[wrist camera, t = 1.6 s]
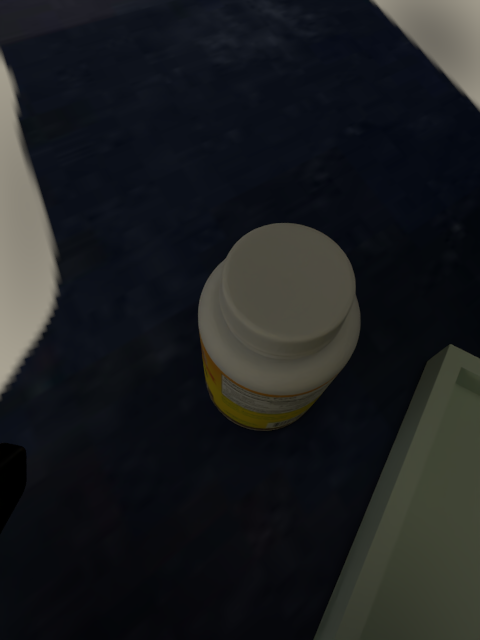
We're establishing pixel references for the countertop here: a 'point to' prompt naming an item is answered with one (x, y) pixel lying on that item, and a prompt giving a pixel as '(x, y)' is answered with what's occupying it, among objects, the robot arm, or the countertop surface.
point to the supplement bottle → (277, 324)
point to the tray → (420, 522)
